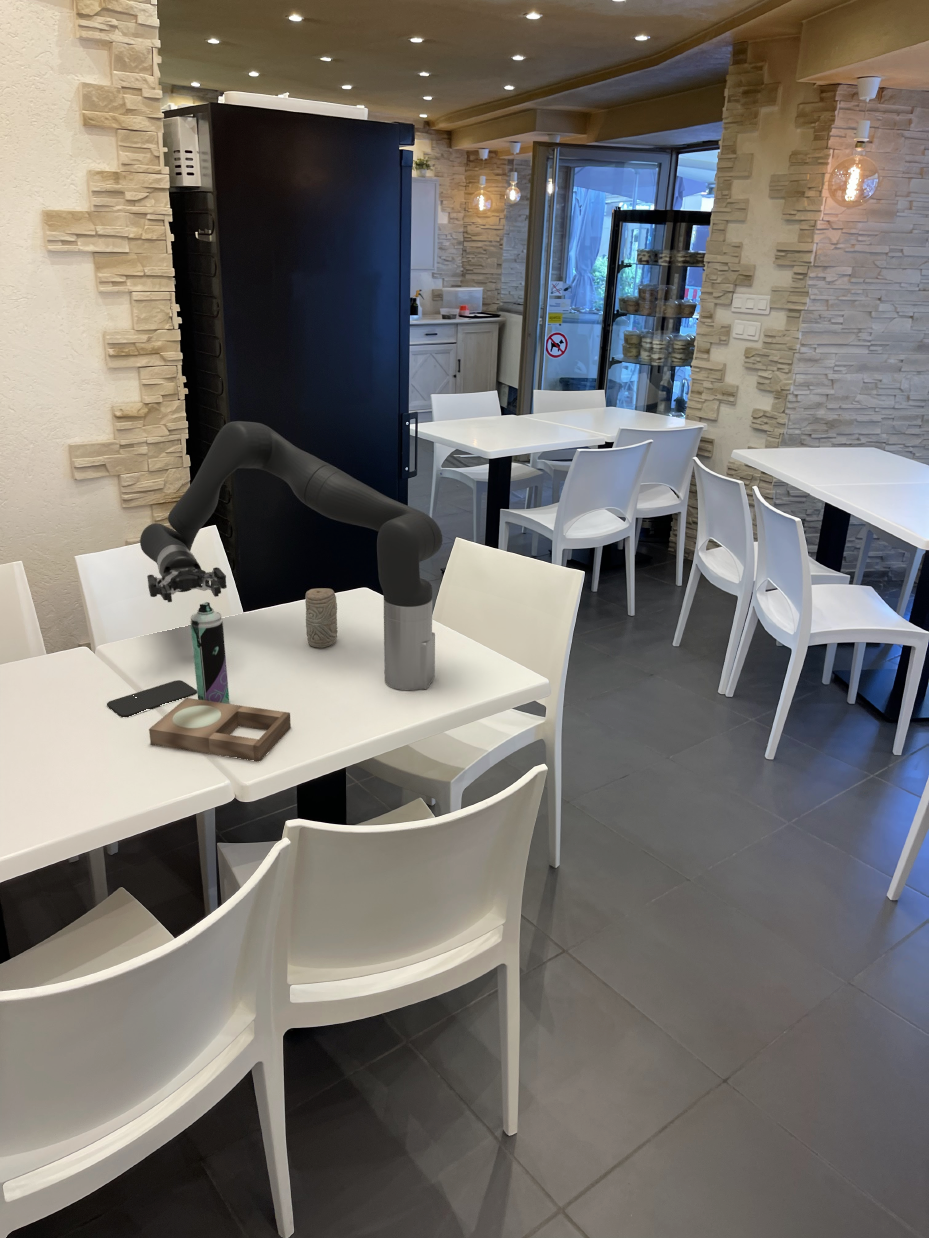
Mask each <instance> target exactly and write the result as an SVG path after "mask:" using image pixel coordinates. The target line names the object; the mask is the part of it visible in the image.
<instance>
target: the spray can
mask: <svg viewBox="0 0 929 1238" xmlns="http://www.w3.org/2000/svg"><path fill="white" fill-rule="evenodd" d="M189 622H190V624H189V625H190V633H191V641H192V654H193V662H194V671H195V672H194V673H195V682H196V690H197V699H199V700H206V701H213V702H220V703H227V704H230V691H229V682H228V681H229V680H228V670H227V659H226V658H227V657H226V656H227V655H226V647H225V645H226V644H225V635H224V622H223V617H222V614H221V612H220V611H216V610H215V609H214V608H212V606H211V603H210V602H207V601H205V602H203V603H200V604H199V608H198V609H197V610H196V612H195V613H193V614H192V615H190V621H189Z"/></svg>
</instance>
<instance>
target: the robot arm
mask: <svg viewBox="0 0 929 1238" xmlns="http://www.w3.org/2000/svg"><path fill="white" fill-rule="evenodd" d="M237 469H257V470H258V469H259V470H263V471H265V472H268V473H270V474H272V475H274V476H275V477H278V478H280V479H281V480H283V481H284V482H286V484H288V486H289V487H290V488H291V491H292V492H293V494H294V495H295V496H296V498H297V499H298V500H299V501H300V502H301V503H303V504H304V505H305V506H307V507H309V508H310V509H311V510H314V511H315V512H317V513H319V514H320V515H322V516H324V517H326V518H329V519H331V520H333V521H337V522H341V523H345V524H349V525H353V526H354V525H355V526H359V527H364V528H368V529H371V530H374V531H376V532H378V533H377V537H376V538H377V539H376V552H377V553H376V554H377V555H376V556H377V571H378V580H379V584H380V587H381V590H382V593H383V644H384V645H383V650H384V652H383V655H384V656H383V657H384V668H383V669H384V670H383V671H384V683H385V684H386V685H387V686H388V687H390V688H392V689H395V690H399V691H401V690H402V691H415V690H427V689H428V688H429V686H430V684H431V683H432V682H433V680H434V678H435V677H436V675H435V674H436V673H435V671H436V668H435V667H436V632H434V631H433V586H432V584H431V583H430V581H429V580H427V579H424V578H421V575H420V574H421V571H420V563H421V562H424V561H426V560H428V559H430V558H432V557H433V556H435V555H436V554H437V553H438V552H439V551H440V549H441V548H442V545H443V534H442V531H441V528H440V526H439V524H438V523H437V521H435V520H434V519H433V518H432V517H431V516H430V515H428V514H427V513H425V512H423V511H421V510H418V509H416V508H414V507H411V506H409V505H406V504H405V503H401V502H399V501H397V500H395V499H392V498H390V497H388V496H387V495H385V494H383V493H381V492H379V491H377V490H376V489H374V488H372V487H370V486H369V485H367V484H365V483H363V482H362V481H360V480H357V479H356V478H354V477H353V476H351V475H350V474H348V473H346V472H344V471H342V470H341V469H339V468H338V467H335V466H334V465H332V464H330V463H329V462H325V461H324V460H322V459H320V458H318V457H317V456H315V455H313V454H310V453H309V452H306V451H304V450H302V449H301V448H298V447H297V446H295V445H293V443H291V442H290V441H289V440H287V439H285V438H284V437H283V436H281V434H279V433H278V432H276V431H275V430H274V429H272V428H271V427H269V426H268V425H265V424H263V423H261V422H254V421H253V422H252V421H241V420H237V421H229V422H228V423H225V424H224V426H222V428H220V430H219V432H218V433H217V434H216V436H215V438H214V440H213V442H212V445H211V446H210V448H209V450H208V452H207V454H206V456H205V457H204V459H203V461H202V463H201V466H200V467H199V469H198V471H197V473H196V474H195V477H194V479H193V480H192V482H191V484H190V485H189V486H188V488H187V489H186V490H185V491H184V493H183V494H182V495H181V497H179V500H178V501H177V502H176V503H175V505H174V506H173V507H172V508H171V510H170V512H169V513H168V514H167V515H168V516H167V520H168V524H169V525H170V526H171V528H170V527H168V526H167V525H164V524H163V523H162V524H161V523H158V522H156V523H151V524H149V525H147V526H146V527H145V528H144V529H143V531H142V532H141V533H140V537H139V538H140V539H139V544H140V549H141V550H142V552H143V554H144V555H146V556H147V557H148V558H149V559H151V560H152V561H153V562H155V563H156V565H157V569H158V574H159V575H160V576H161V577H157V576H155V575H154V574H147V576H146V577H147V586H148V587H147V589H148V591H149V595H150V598H155V597H157V596H158V595H160V597H161V598H162V600H163V601H166V602H167V603H172V602H173V598H172V596H173V595H175V594H176V593H185V592H189V591H192V590H199V591H203V592H205V591H208V590H209V591H210V592H211V593H212V595H213V597H215V598H216V597H219V594H222V589H223V590H224V589H227V586H228V585H227V575H226V574H225V573H224V572H223V571H222V570H221V568H219V567H213V568H212V569H213V570H212V571H209V572H207V571H205V570H204V569H202V568H201V565H200V563H199V562H198V561H197V558H196V557H195V555H193V553H192V551H191V550H192V547H193V543H194V541H195V539H196V537H197V536H198V533H199V531H201V529H202V527H204V525H205V524H206V522H208V520H209V519H210V518H211V517H212V515H213V514H214V512H215V510H216V508H217V506H218V503H219V497H220V491H221V487H222V486H223V484H224V482H225V481H226V479H227V478H229V477H230V476H231V475H232V473H234V472H235V471H236V470H237ZM172 528H173V529H172Z"/></svg>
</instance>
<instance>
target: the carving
mask: <svg viewBox="0 0 929 1238" xmlns="http://www.w3.org/2000/svg"><path fill="white" fill-rule="evenodd" d="M304 598H305V628H306V638H307V642H308V645H310V646H311V647H313V648H318V649H322V648H323V649H324V648H327V647H329V646H331V645H333V644H334V643H335V642H337V641H336V640H337V639H338V616H337V615H338V603H337V596H336V593H335V591H334V590H333V589H332V588H327V587H326V588H322V587H321V588H317V587H316V588H311V589H309V590H307V591H306V593H305V597H304Z"/></svg>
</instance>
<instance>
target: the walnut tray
mask: <svg viewBox="0 0 929 1238" xmlns="http://www.w3.org/2000/svg"><path fill="white" fill-rule="evenodd" d="M238 727H241V728H248V729H254V730H255V729H256V730H261V731H264V733H263V734H262V735H261V736H260V737H259V738H253V737H245V736H239V735H233V732H234V731H235V730H236V729H238ZM291 728H292V726H291V712H287V711H280V710H275V709H274V710H273V709H268V708H267V709H266V708H259V707H253V706H247V705H239V704H234V703H229V704H227V703H220V702H213V701H206V700H199V699H198V698H191V697H187V698H184V699H182V701H181V702H179V703H178V704H177V705H176V706H175V707H173V708H172V709H171V710H170V711H169V712H168V713H167V714H165V715H164V716H163V717H161V719H159V720H158V721H156V723H155V724H153V725H152V726H151V727H150V728H148V731H149V732H148V733H149V740H150V746H158V747H164V748H169V749H175V750H183V751H186V752H187V751H188V752H194V753H201V754H208V755H215V756H219V755H221V757H225V756H229V757H228V758H231V757H237V758H236V759H238V758H241V759H240V760H244V759H246V761H250V760H254V761H253V762H257V761H260V762H261V761H262V760H263V759H264V758H265V757H267V755H268V754H269V753H270V752H271V750H272V749H273V748H274V747H275V746H276V745H277V744H278V743H279V742H280V741H281V739H283V737H284V736H285V735H286V734H287V732H289V731H290V729H291ZM268 752H269V753H268ZM267 753H268V754H267ZM266 754H267V755H266ZM247 759H248V760H247Z"/></svg>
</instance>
